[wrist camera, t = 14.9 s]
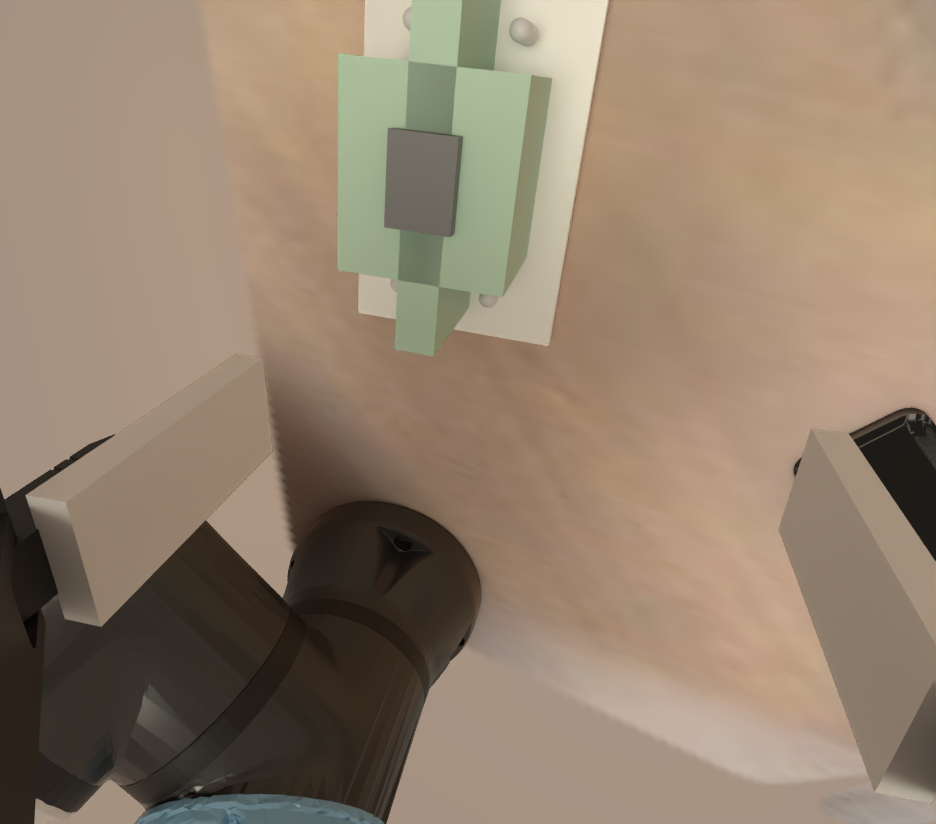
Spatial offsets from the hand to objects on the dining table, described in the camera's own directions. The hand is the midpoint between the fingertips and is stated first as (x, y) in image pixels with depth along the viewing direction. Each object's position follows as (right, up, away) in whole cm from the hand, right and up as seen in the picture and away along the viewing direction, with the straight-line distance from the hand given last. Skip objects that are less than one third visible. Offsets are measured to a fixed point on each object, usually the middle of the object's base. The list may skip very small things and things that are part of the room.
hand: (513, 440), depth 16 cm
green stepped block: (-1, +14, +19) cm, 24 cm away
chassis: (-1, +15, +20) cm, 25 cm away
